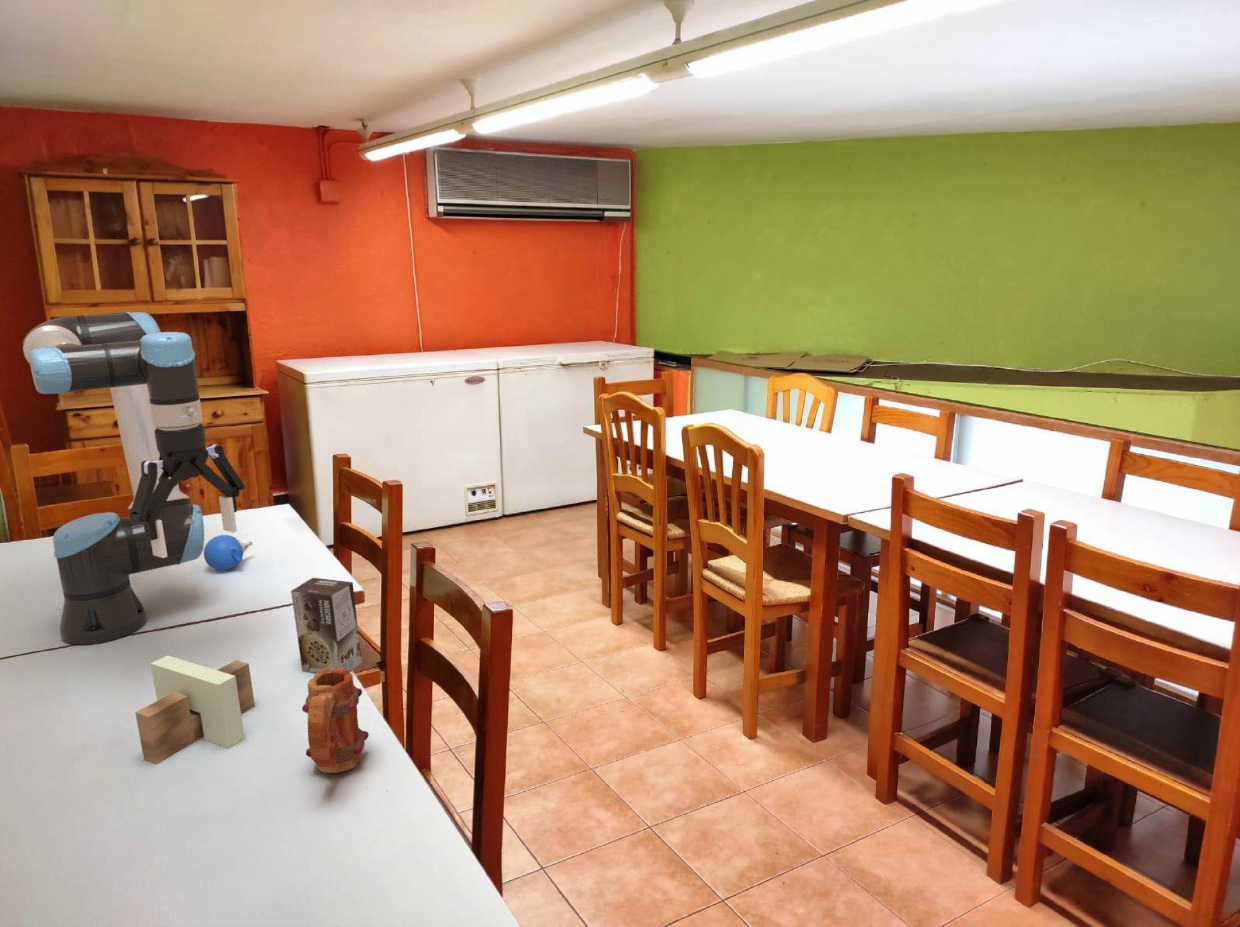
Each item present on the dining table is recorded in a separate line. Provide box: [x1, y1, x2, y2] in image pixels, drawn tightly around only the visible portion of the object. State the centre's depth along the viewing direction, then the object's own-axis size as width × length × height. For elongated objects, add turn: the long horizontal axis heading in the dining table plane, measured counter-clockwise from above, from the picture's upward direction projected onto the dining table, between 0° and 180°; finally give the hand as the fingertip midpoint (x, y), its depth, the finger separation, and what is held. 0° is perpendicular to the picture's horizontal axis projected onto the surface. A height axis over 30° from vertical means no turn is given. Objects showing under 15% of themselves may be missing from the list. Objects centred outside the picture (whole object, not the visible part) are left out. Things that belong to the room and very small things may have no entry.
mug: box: [301, 668, 370, 774], centre depth 122 cm, size 15×8×15 cm, turn 5°
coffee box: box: [290, 577, 362, 674], centre depth 154 cm, size 9×6×16 cm
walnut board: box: [135, 659, 256, 765], centre depth 135 cm, size 18×3×8 cm, turn 153°
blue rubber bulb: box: [203, 534, 253, 572], centre depth 204 cm, size 12×12×8 cm
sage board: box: [150, 655, 245, 749], centre depth 134 cm, size 16×3×11 cm, turn 63°
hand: (196, 543), depth 148 cm, fingers open, 13 cm apart
